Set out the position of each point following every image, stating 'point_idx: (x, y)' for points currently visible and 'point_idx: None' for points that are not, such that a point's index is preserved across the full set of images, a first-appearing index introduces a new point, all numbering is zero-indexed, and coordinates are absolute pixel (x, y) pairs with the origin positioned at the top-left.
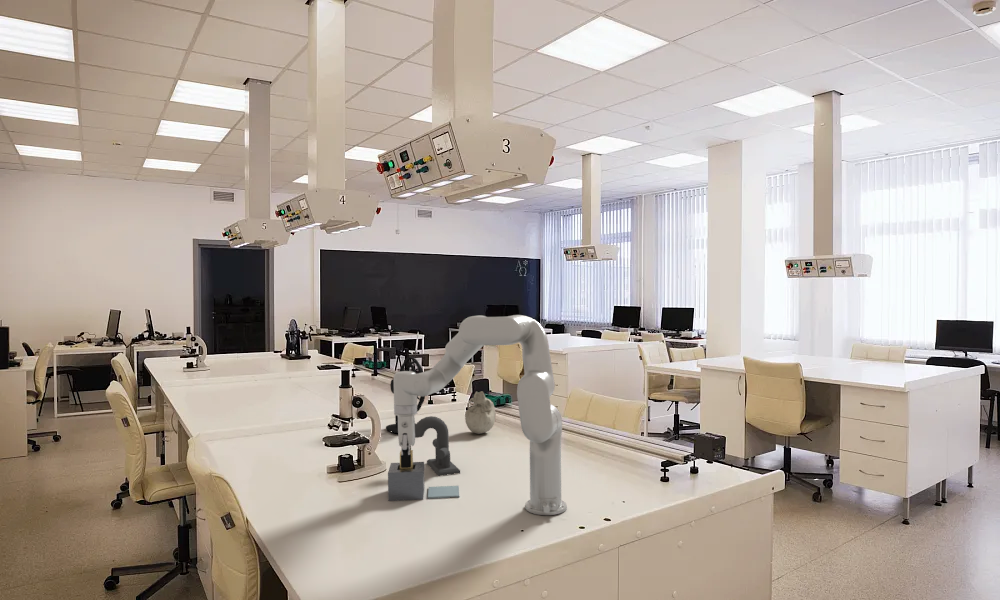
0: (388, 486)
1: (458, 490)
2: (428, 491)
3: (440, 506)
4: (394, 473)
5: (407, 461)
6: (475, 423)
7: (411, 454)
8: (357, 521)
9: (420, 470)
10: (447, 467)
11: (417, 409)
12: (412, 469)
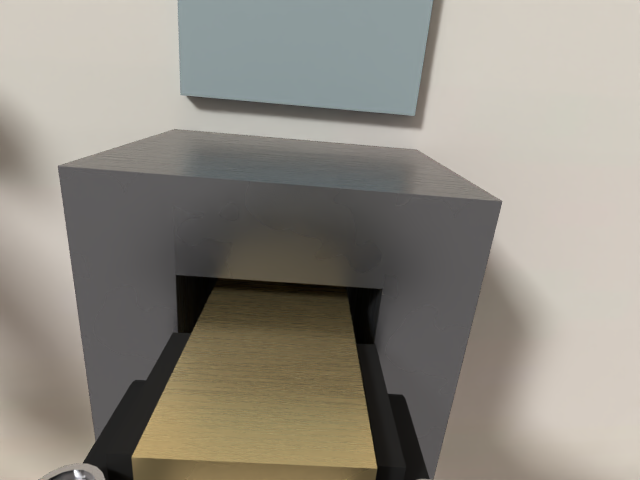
0: None
1: None
2: (293, 104)
3: (598, 30)
4: (435, 455)
5: (411, 432)
6: None
7: (373, 458)
8: (617, 462)
9: (451, 226)
10: None
11: None
12: (386, 312)
